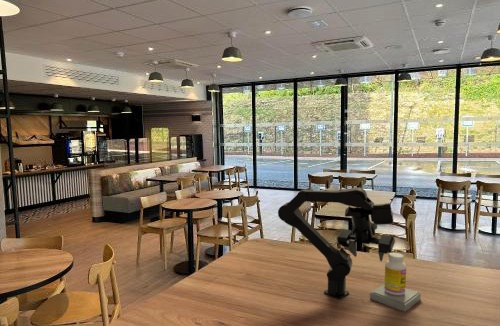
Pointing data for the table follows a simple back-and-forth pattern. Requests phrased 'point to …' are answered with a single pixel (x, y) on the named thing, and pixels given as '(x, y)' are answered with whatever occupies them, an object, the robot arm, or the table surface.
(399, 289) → the supplement bottle
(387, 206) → the robot arm
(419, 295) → the slate base
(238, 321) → the table surface
